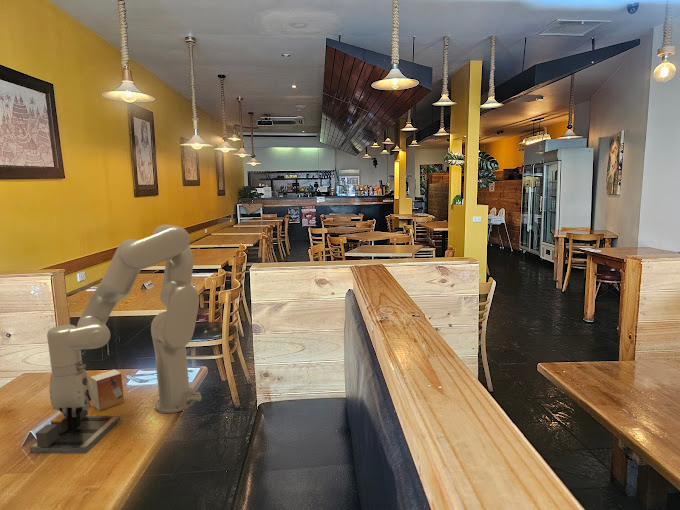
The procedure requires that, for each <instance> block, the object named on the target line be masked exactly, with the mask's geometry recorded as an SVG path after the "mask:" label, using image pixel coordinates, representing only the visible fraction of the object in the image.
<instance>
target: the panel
mask: <svg viewBox="0 0 680 510" xmlns="http://www.w3.org/2000/svg"><path fill="white" fill-rule="evenodd" d="M119 422H121V416H120V415H87V416H85V417H84V418H83V419H82V420H81V425H80V426H79V427H78V428H76V429H75V430H66V431H65V432H64V433H63V434H59V438H58V439H57V440H56V441H55V442H53V443H52V444H51V445H50V446H49V447H38V446H37V441H36V442H35V443H34V444H32V445H31V446H30V447H29V453H30V454H31V453H32V454H34V453H35V454H38V453H39V454H87V453H88V452H89V451H90V450H91V449H92V448H93V447H94V446H95V445H96V444H98V443H99V442H100V441H101V440H102V439H103V438H104V437H105V435H107V434H108V433H109V432H111V430H112V429H113V428H114V427H116V425H118V424H119Z"/></svg>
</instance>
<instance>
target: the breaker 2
mask: <svg viewBox="0 0 680 510" xmlns="http://www.w3.org/2000/svg"><path fill="white" fill-rule="evenodd" d="M85 416H89V412H88V410H84V411H82V412H81V413H80V420H82V419H83V418H84V417H85Z"/></svg>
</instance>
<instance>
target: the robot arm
mask: <svg viewBox="0 0 680 510" xmlns="http://www.w3.org/2000/svg"><path fill="white" fill-rule="evenodd" d="M190 242H191V238H190V234H189V232H188V231H187V230H186V229H185V228H184V227H181V226H179V225H173V224H165V223H164V224H160V225H158V226H157V227H156V228H155V229H154V230H153V233H152V235H149V236H146V237H144V238H141V239H136V238H128V239H124V240H123V241H122V242H121V243H120V244H119V245H118V247H117V248H116V251H115V252H114V254H113V256H112V258H111V260H110V263H109V265H108V266H107V268H106V271H105V273H104V275H103V277H102V279H101V281H100V283H99V284H98V286H97V288H96V289H95V291H94V292H93V294H92V295H91V296H90V298H89V300H88V302H87V303H86V305H85V306H84V310H83V311H82V313H81V314H80V317H79V319H78V321H77V324H76V325H74V324H63V325H62V324H61V325H57V326H55V327H51V328H50V329H49V330H48V331H47V334H46V336H47V337H46V339H47V344H48V345H47V346H48V351H49V354H48V355H49V360H50V368H51V374H50V377H49V399H50V404H51V406H52V409H53V410H56V411H60V413H63V414H64V417H67V425H68V430H75V429H76V428H78V427H79V426H80V425H81V420H80V413H81V412H82V411H84V410H87V411H88V410H89V409H90V408H92V404H91V401H93V395H92V386H91V379H90V378H89V374H88V373H87V370H86V368H87V365H86V363H84V364H83V360H82V351H81V350H94V349H99V348H102V347H104V346H105V345H107V344H108V342H109V341H110V339H111V331H110V329H109V328H108V326H107V325H106V324H107V322H108V319H109V318H110V315H111V314H112V312H113V310H114V309H115V307H116V306H117V304H118V303H120V302H121V301H123V300H124V299H125V298H127V297H128V296H129V295H130V294H131V291H132V289H133V287H134V285H135V283H136V281H137V279H138V276H139V275H140V272H141V270H144V269H147V268H151V267H153V266H155V265H158V264H160V263H162V262H164V261H165V265H164V273H163V277H162V282H161V283H162V284H161V288H160V293H159V300H160V302H161V303H162V304H163V306H165V307H166V311H162V312H159V313H158V314H157V315H155V316H154V318H153V319H152V321H151V326H150V333H151V338H152V344H153V349H154V356H155V357H154V358H155V369H156V379H157V387H158V390H157V391H158V398H159V399H157V400H156V401H155V403H154V409H155V411H157V412H158V413H162V414H174V413H178V412H182V411H185V410H187V409H189V408H191V407H192V406H193V405H194V404H195V402H201V401H202V395H201V392H200V391H198V392H194V391H193V387H190V382H189V381H190V379H189V370H188V359H187V357H188V356H187V348H186V346H187V345H188V344H189V343H190V342H191V340H192V339H193V335H194V333H195V328H196V322H197V316H198V312H199V307H200V296H199V293H198V291H197V289H196V288H195V287H194V286H193V285H192V284H191V283H192V277H193V270H194V255H193V251H192V248H191V246H190Z"/></svg>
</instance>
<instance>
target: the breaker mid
mask: <svg viewBox="0 0 680 510" xmlns="http://www.w3.org/2000/svg"><path fill="white" fill-rule="evenodd" d="M50 424H53V425H57V426H58V433H59V434H63V433H64V432H65V431H66V430H68V425H67V417H64V414H63V413H62V412H60V413H59V414H57V415H56V416H54V417H53V418H52V419H50Z"/></svg>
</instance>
